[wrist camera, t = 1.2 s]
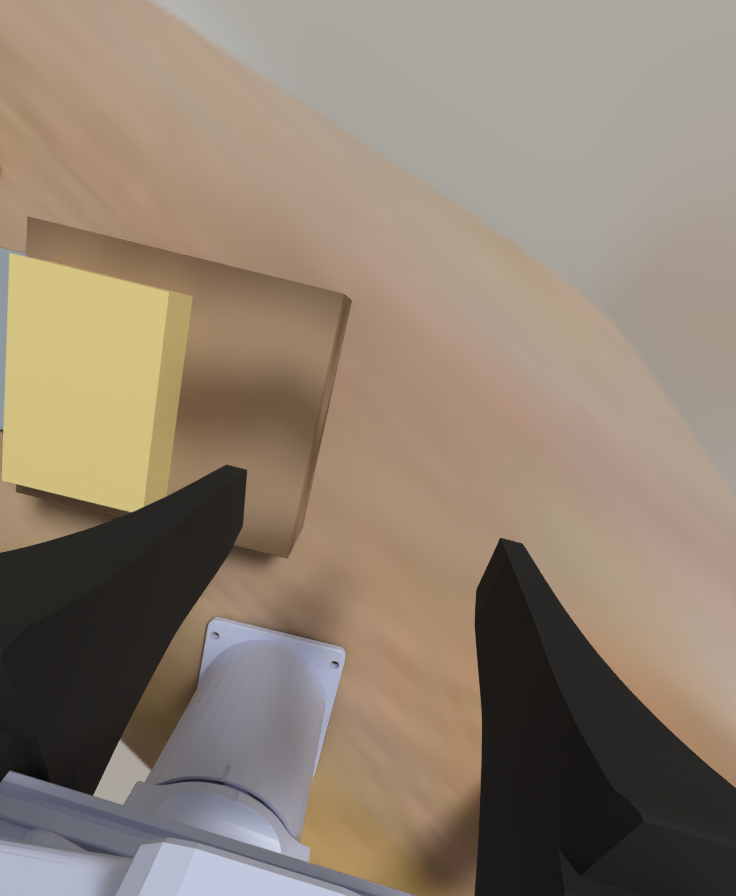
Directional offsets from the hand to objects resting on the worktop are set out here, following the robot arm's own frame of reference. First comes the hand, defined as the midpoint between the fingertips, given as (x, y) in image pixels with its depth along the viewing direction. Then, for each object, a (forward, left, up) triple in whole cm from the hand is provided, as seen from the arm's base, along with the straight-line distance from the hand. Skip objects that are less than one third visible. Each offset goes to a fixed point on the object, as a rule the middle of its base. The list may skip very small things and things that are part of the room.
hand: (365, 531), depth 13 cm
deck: (0, +9, -11) cm, 14 cm away
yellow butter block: (0, +12, -7) cm, 14 cm away
